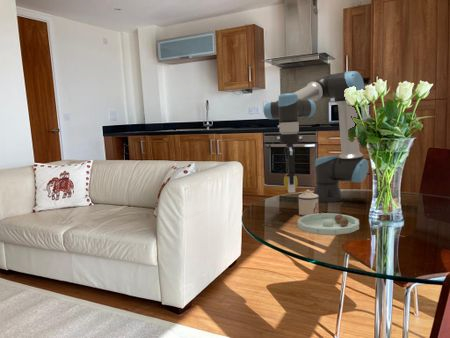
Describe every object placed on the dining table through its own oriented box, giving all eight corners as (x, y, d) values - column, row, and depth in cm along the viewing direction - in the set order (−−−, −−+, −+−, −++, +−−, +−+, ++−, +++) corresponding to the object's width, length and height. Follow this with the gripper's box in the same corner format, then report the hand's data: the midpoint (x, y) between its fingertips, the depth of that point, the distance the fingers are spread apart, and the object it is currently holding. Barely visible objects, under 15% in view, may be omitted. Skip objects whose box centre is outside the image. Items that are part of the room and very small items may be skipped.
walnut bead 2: (342, 224, 143) (342, 215, 143) (350, 225, 141) (350, 217, 140) (337, 226, 141) (337, 217, 141) (345, 228, 138) (345, 219, 138)
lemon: (283, 193, 144) (283, 173, 143) (284, 190, 150) (283, 171, 149) (297, 192, 143) (297, 172, 142) (298, 190, 148) (297, 170, 147)
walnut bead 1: (337, 221, 148) (337, 213, 148) (345, 222, 145) (345, 214, 145) (333, 223, 146) (332, 214, 145) (340, 224, 143) (340, 216, 143)
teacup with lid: (318, 218, 158) (317, 192, 156) (297, 217, 161) (296, 191, 160) (320, 211, 169) (320, 187, 167) (301, 211, 172) (300, 186, 171)
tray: (319, 217, 159) (319, 209, 159) (370, 226, 142) (370, 217, 142) (286, 229, 144) (286, 220, 144) (338, 241, 127) (338, 231, 126)
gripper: (278, 133, 153) (280, 187, 156) (281, 134, 135) (283, 195, 137) (296, 132, 152) (297, 186, 155) (301, 133, 134) (303, 195, 137)
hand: (291, 190), depth 146 cm, fingers closed on lemon, 5 cm apart
